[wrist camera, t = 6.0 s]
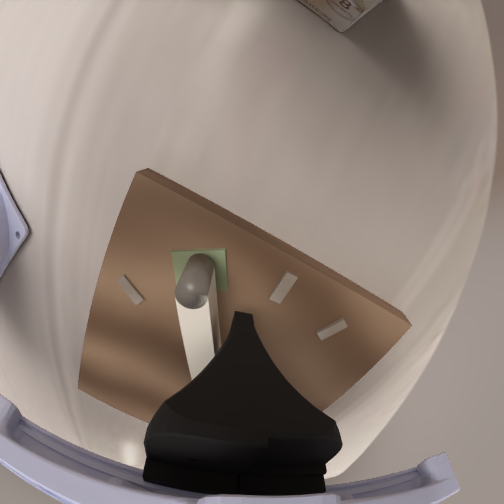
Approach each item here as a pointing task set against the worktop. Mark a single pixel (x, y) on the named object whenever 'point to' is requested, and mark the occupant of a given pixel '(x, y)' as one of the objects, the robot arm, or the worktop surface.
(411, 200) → the worktop surface
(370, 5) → the coffee box
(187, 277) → the white bulb ended bar
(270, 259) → the board
